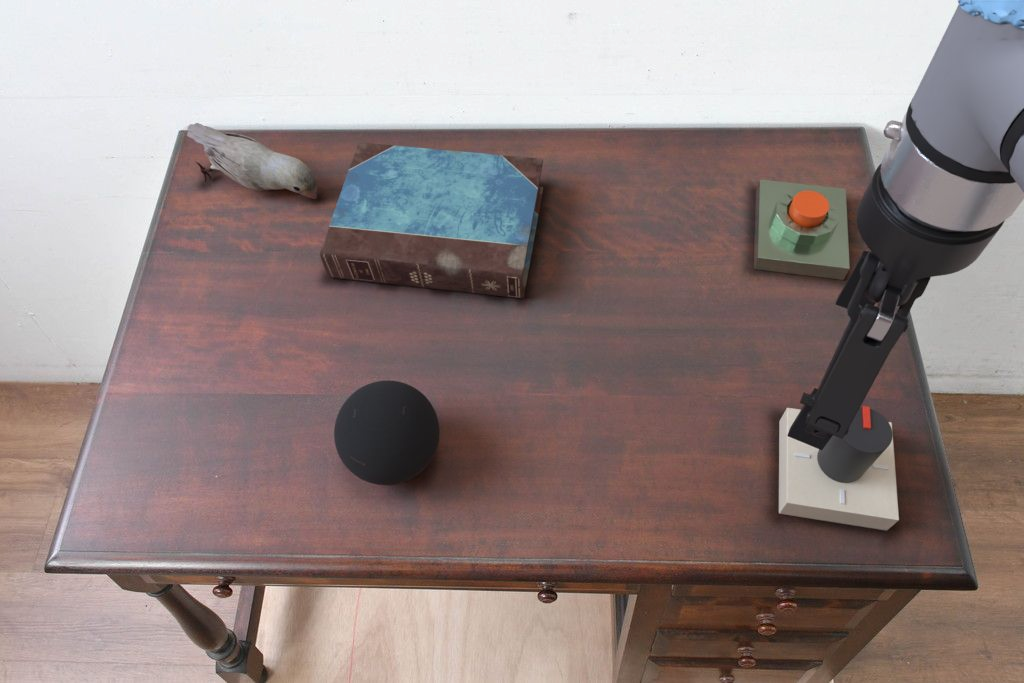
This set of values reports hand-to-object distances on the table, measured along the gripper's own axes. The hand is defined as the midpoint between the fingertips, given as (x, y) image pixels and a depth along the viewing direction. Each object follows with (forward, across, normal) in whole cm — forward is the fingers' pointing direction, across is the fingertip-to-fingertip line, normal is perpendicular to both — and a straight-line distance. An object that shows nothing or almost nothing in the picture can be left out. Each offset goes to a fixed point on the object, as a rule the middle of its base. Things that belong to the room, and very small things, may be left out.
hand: (830, 370), depth 64 cm
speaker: (+18, +16, -34) cm, 42 cm away
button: (+14, -29, -6) cm, 33 cm away
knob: (+15, -1, +5) cm, 16 cm away
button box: (+18, -29, -6) cm, 34 cm away
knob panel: (+18, -1, +5) cm, 19 cm away
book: (+18, -11, -45) cm, 49 cm away
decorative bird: (+18, -8, -69) cm, 71 cm away
